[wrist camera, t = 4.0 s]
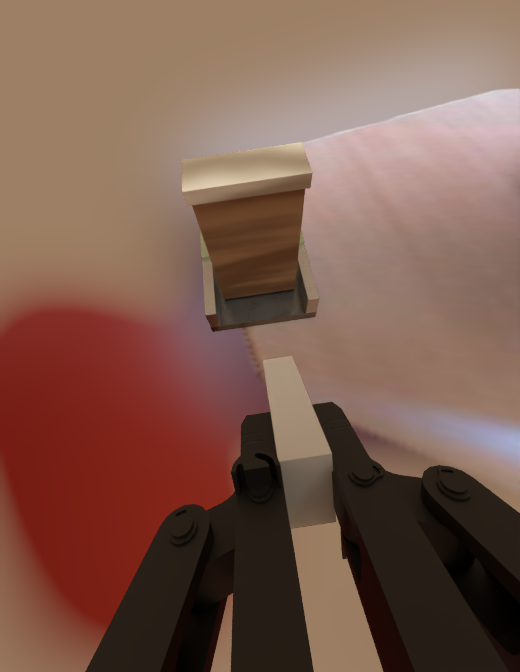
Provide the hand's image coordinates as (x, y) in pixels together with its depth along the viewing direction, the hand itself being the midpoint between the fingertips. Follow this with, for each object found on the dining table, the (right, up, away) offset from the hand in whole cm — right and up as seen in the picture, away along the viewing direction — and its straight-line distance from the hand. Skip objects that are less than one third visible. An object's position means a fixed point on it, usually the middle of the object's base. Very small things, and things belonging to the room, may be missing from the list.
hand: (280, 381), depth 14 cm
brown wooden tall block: (-1, +9, +20) cm, 22 cm away
